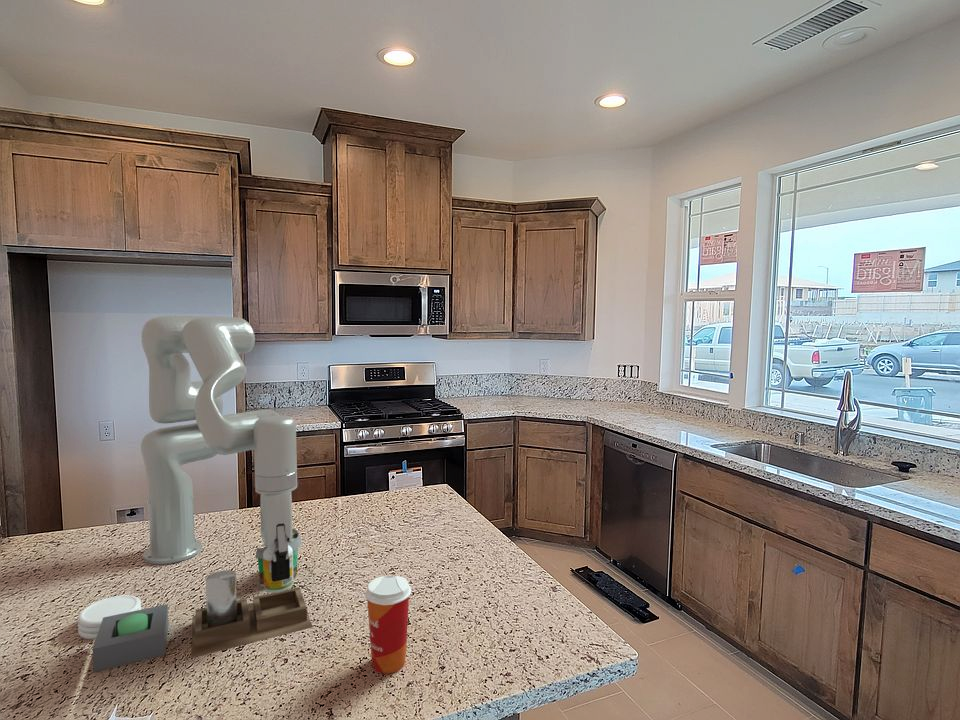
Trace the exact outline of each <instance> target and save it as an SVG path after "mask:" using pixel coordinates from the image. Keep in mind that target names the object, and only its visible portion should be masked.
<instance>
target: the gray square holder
mask: <svg viewBox="0 0 960 720" xmlns="http://www.w3.org/2000/svg"><path fill="white" fill-rule="evenodd" d="M138 613H143V614H146V615H147V616H148V630H144V631H140V632H135V633H131V634H126V635H122V636H118V625H117V624H118V622H119V621H120V620H121V619H123V618H125V617H127V616H129V615H133V614H138ZM169 621H170V620H169V604H168V603H165V604H162V605H161V604H160V605H156V606H151V607H148V608H141V610H137V611H132V612H127V613H122V614H118V615H113V616H108V617H103V620H102V622H101V625H100V628H99V631H98V634H97V637H96V639H94V644H93V646H92V664H93V673H98V672H102V671H103V672H104V671H106V670H107V671H108V670H111V669H114V668H118V667H122V666H127V665H131V664H134V663H137V662H143V661H146V660H151V659H153V658H158V657H164V656H165V655H166V650H167V644H168V643H167V642H168V633H169V625H170V622H169Z"/></svg>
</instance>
